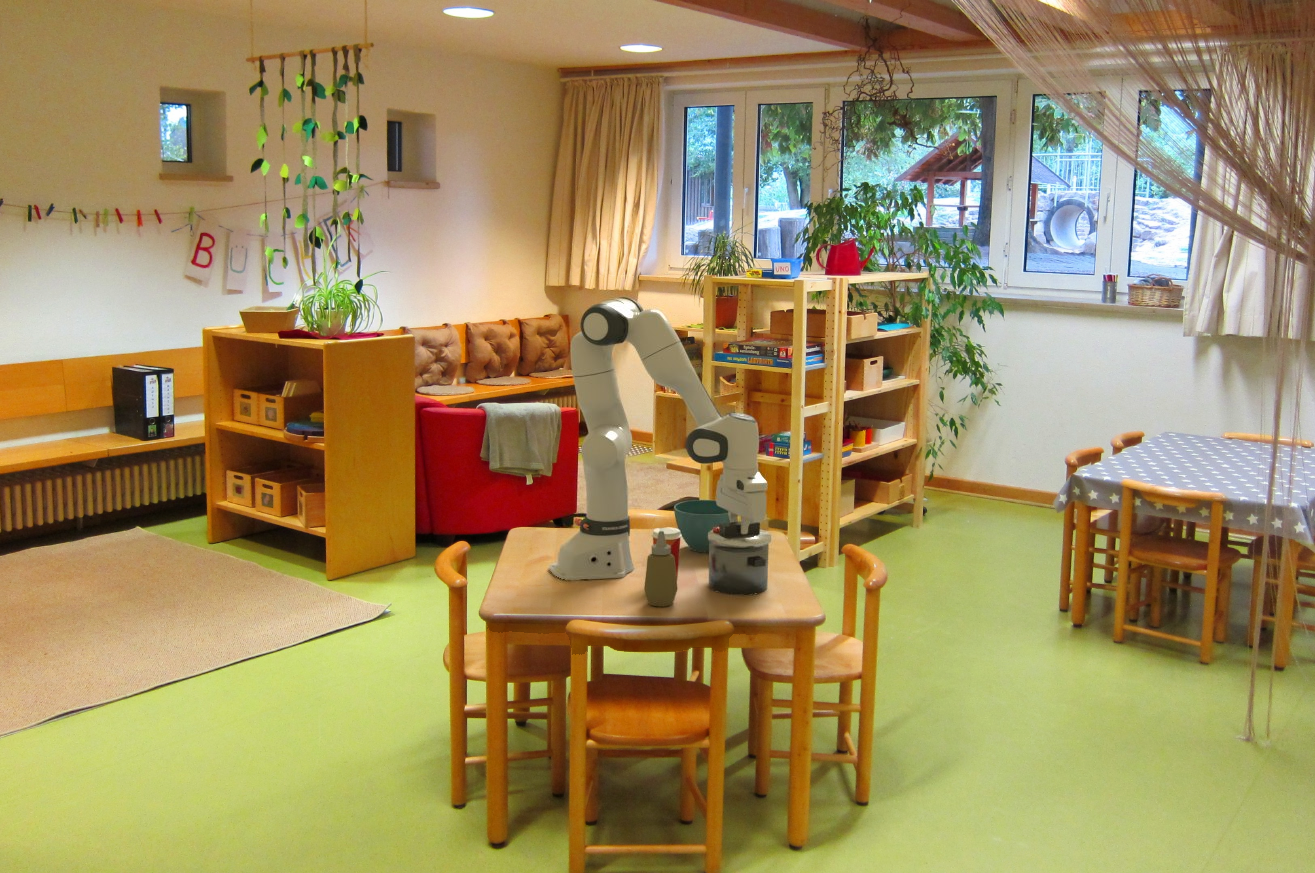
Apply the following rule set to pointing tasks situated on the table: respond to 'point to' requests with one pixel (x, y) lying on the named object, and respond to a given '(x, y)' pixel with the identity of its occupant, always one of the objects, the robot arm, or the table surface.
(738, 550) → the pot
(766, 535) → the lid
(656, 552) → the squeeze bottle
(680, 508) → the teal bowl
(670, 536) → the paper cup
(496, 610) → the table surface
